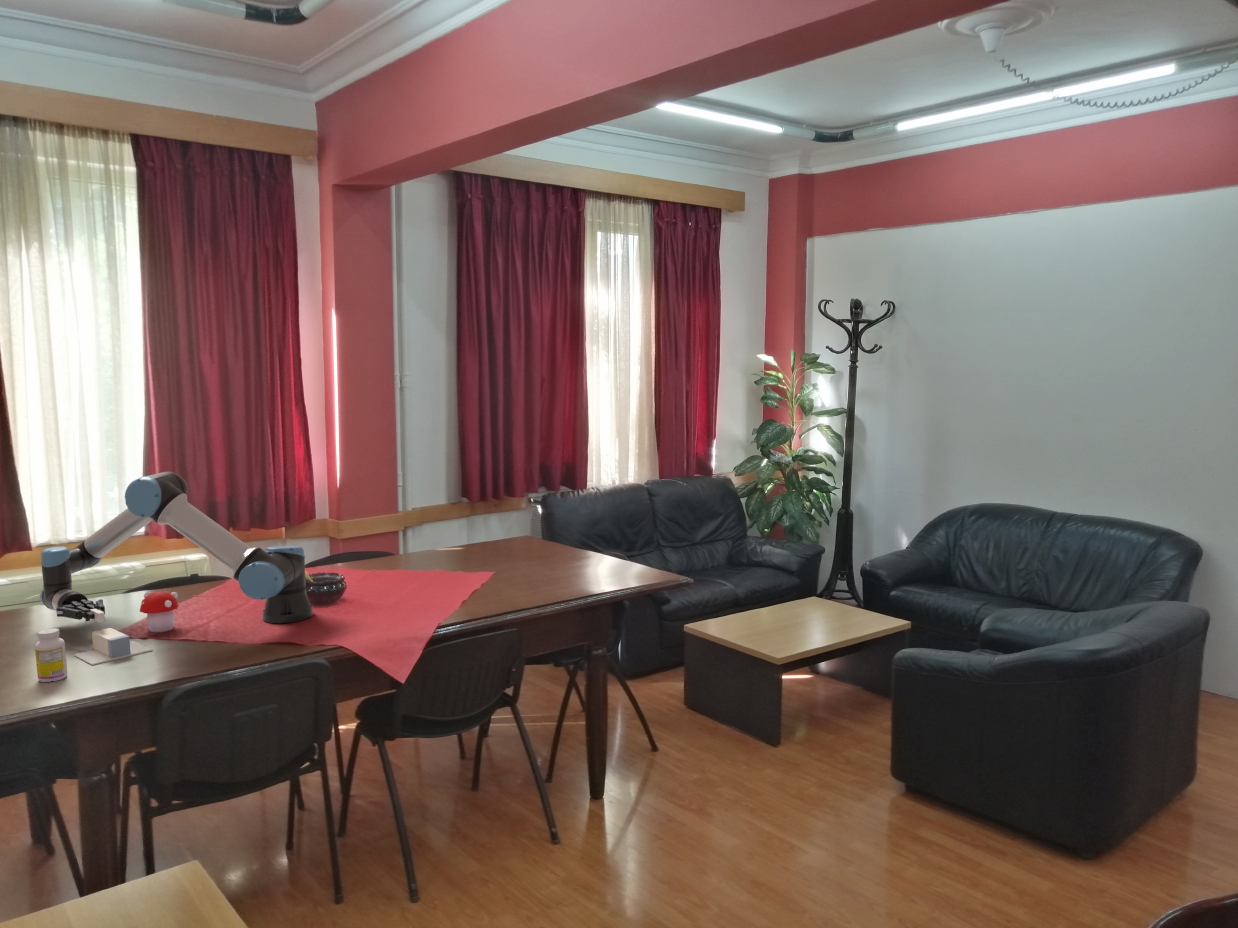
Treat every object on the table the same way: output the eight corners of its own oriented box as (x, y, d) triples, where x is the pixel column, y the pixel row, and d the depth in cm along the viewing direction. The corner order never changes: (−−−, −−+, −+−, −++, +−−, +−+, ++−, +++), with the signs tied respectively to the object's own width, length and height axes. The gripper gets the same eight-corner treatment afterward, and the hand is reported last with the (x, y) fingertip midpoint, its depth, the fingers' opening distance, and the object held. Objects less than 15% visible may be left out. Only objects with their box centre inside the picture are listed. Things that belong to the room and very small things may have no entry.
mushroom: (188, 625, 288) (186, 588, 287) (160, 635, 278) (157, 597, 276) (161, 622, 292) (159, 585, 290) (133, 632, 281) (130, 594, 280)
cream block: (111, 644, 269) (130, 653, 261) (93, 648, 265) (111, 657, 257) (110, 627, 268) (129, 636, 260) (91, 631, 265) (110, 640, 256)
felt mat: (152, 650, 264) (152, 649, 264) (92, 665, 252) (91, 663, 252) (133, 641, 272) (133, 640, 272) (73, 655, 260) (73, 654, 260)
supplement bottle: (46, 674, 245) (42, 627, 244) (72, 673, 246) (68, 626, 244) (32, 683, 238) (28, 635, 237) (59, 682, 239) (55, 634, 237)
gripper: (94, 610, 285) (126, 625, 270) (47, 620, 275) (78, 635, 260) (93, 587, 284) (125, 599, 269) (45, 595, 275) (76, 609, 259)
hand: (101, 617), depth 265 cm, fingers closed
